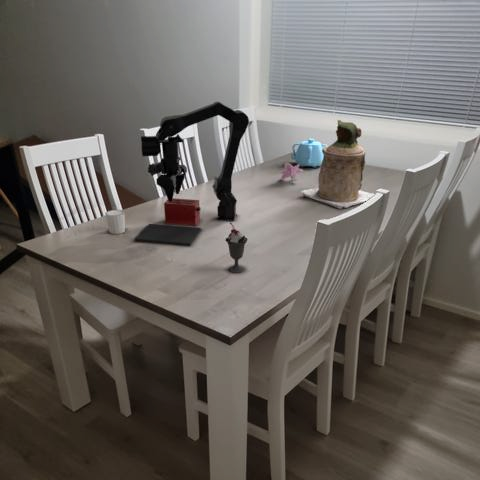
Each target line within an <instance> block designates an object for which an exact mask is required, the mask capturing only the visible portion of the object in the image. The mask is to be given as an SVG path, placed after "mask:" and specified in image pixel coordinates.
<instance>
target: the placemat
mask: <svg viewBox="0 0 480 480" xmlns="http://www.w3.org/2000/svg"><path fill="white" fill-rule="evenodd" d="M201 231H202V228H201V227H197V226H186V225H173V224H158V223H157V224H156V223H148V225H146V227H145V228H143V230H142V231H141V232H139V234H138V235H137V236H136V237H135V239H134V241H135V243H136V242H138V243H150V244H161V245H163V244H164V245H173V246H187V247H191V246H192V245H193V243H194V241H195V240H196V238H197V237H198V235H199V234H200V232H201Z"/></svg>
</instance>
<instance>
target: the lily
mask: <svg viewBox="0 0 480 480" xmlns="http://www.w3.org/2000/svg"><path fill="white" fill-rule="evenodd" d="M300 166H301V165H300V164H296V165H294V166H293V164H291V163H289V162H285V163H284V170H280V171H278V172H277V173H278V174H280V175H281V177H280V181H283V180H284V179H287V178H290V179H291V181H292V182H291V183H292V184H291V185H294V180H296V177H297V176H296V175H297V174H300V173H303V172H305V170H304V169H302V168H299V167H300Z"/></svg>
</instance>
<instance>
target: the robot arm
mask: <svg viewBox="0 0 480 480" xmlns="http://www.w3.org/2000/svg"><path fill="white" fill-rule="evenodd" d="M217 116H220V117H221V118H223V119H225V120H227V121H228V132H229V134H228V135H229V136H228V141H227V145H226V148H225V154H224V157H223V162H222V163H223V164H222V165H221V171H220V174H219V176H218V177H217V176H214V178H213V179H214V180H213V184H212V186H211V187H212V188H213V192H214V195H215V196H216V198H217V200H219V202H218V205H217V208H216V209H217V217H218V218H217V220H219V221H235V220H236V218H237V217H238V216H237V215H238V214H237V201H238V200H237V198H236V196H235V195H234V193H233V192H232V189H233V187H232V186H233V185H232V183H233V182H232V177H233V173H234V169H235V165H236V160H237V157H238V152H239V148H240V144H241V140H242V138H243V137H244V135H245V133H246V131H247V129H248V127H249V124H250V119H249V116H248V115H247V114H246V113H245V112H244V111H242V110H241V109H235V110H234V109H232V108H230V107H228V106H227V105H225V104H224V103H222V102H220V101H215V102H213V103H211V104H208V105H205V106H203V107H200V108H198V109H195V110H192V111H189V112H187V113H184V114H175V115H169V116H164V117H163V118H162V119H161V120H160V123H159V128H158V130H157V131H156V134H155V135H149V136H147V135H141V136H140V141H141V142H140V143H141V144H140V149H141V156H142V157H143V158H144V157H158V156H159V155H160V154H161V153H162V158H161V159H160V161H159V162H155V163H154V162H152V163H150V164H149V165H148V167H147V173H149V174H150V176H151V177H152V176H155V175H157V174H160V175H159V176H158V177H157V178H156V185H157V186H158V187H161V188H162V189H163V191H164V193H165V195H166V198H167V200H168V201H169V202H171V201H172V199H173V198H174V195H175V194H176V195H179V194H180V192H181V189H182V186H183V184H184V180H185V179H186V176H187V173H188V167H187V166H186V165H185V164H180V161H181V160H182V158H181V156H180V154H179V153H180V151H179V143H184V139H183V138H182V137H181V136H180V133H181V132H183V131H184V130H185V129H186V128H189V127H190V126H191V127H192V126H194V125H196V124H198V123H201V122H203V121H206V120H209V119H212V118H214V117H217ZM161 148H162V149H161Z"/></svg>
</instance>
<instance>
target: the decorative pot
mask: <svg viewBox="0 0 480 480" xmlns="http://www.w3.org/2000/svg"><path fill="white" fill-rule="evenodd" d="M296 146H298V147H297V148H296V151H295V147H296ZM326 146H328V145H327V144H325V143H321V142H320V141H315V139H314V138H308V139H307V140H303V141H301V142H300V143H299V142H296V143H293V145H292V148H291V149H292V154H291V155H290V158H291V160H295V163H296V165H298V164H300V166H299V167H300V168H305V167H312V168H318V167H319V166H320V167H321V164H322V160H323V153H322V149H323V148H324V147H326Z"/></svg>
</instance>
